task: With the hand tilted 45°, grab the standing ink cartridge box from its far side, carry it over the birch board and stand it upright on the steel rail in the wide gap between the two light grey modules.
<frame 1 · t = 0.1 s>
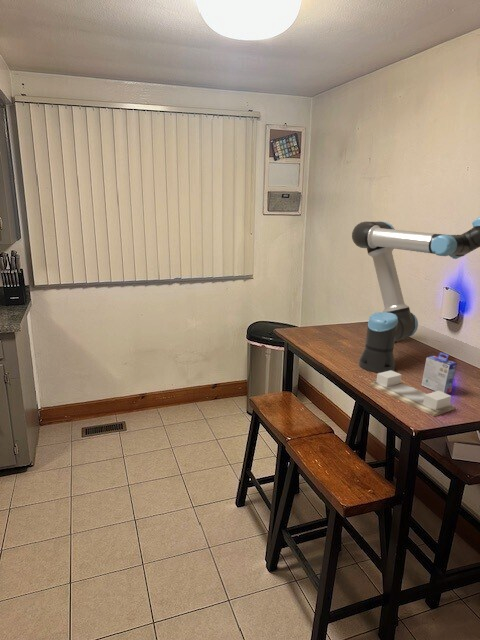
mounted modules: (411, 388, 162), on the rail board, point 3 cm above the table
ink cartridge box: (436, 389, 171), on the table
travel mug: (389, 341, 228), on the table
rail board: (410, 396, 163), on the table
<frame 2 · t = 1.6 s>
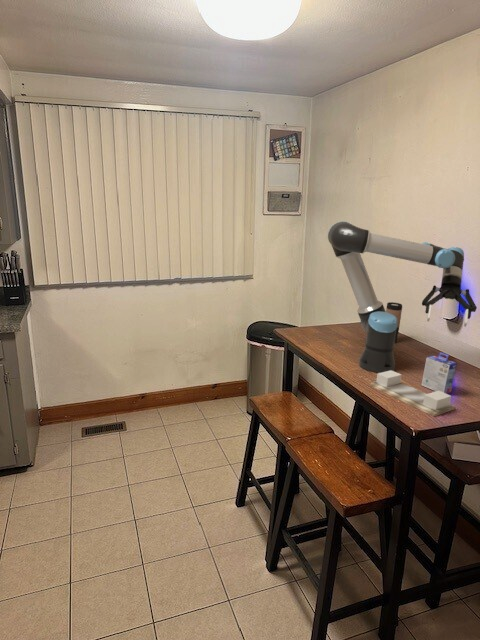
hand: (446, 322, 176), 24 cm above the table, tool tilted 45°, fingers open, 13 cm apart
nothing on the table moved.
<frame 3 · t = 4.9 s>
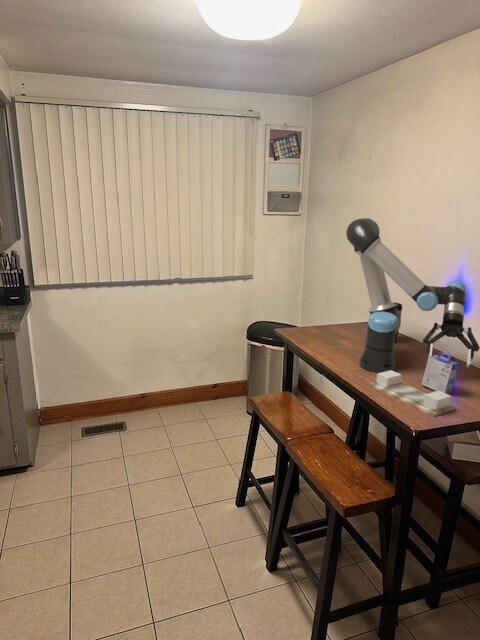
hand: (448, 362, 171), 10 cm above the table, tool tilted 45°, fingers open, 13 cm apart
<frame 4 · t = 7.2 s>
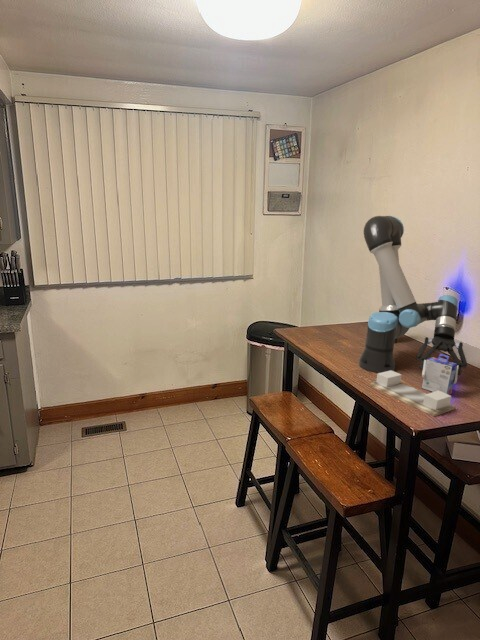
hand: (438, 379, 167), 5 cm above the table, tool tilted 45°, fingers closed on ink cartridge box, 11 cm apart
ink cartridge box: (436, 391, 169), on the table, touching gripper
everything else where it was.
when the fingers open (8 cm above the table, at t = 13.9 s): ink cartridge box drops 1 cm, resting on rail board.
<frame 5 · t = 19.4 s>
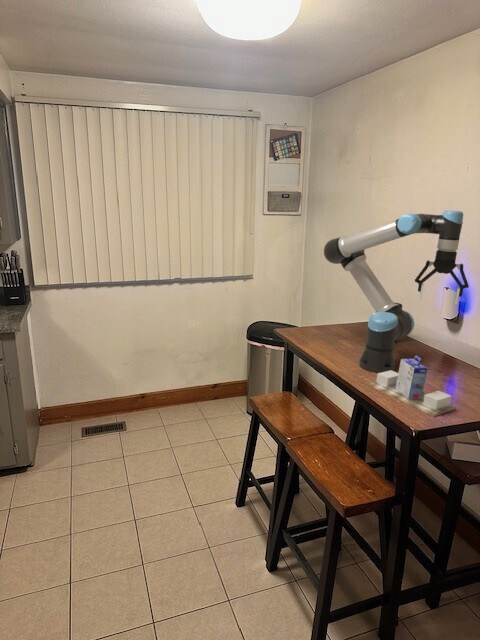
hand: (437, 301, 181), 31 cm above the table, tool pointing down, fingers open, 13 cm apart
ink cartridge box: (408, 394, 161), point 1 cm above the table, touching rail board
everything else where it was.
at the end: ink cartridge box inside the target area on the rail board (1.7 cm from its centre), point 1.4 cm above the rail board's base; ink cartridge box tilted 0°; the gripper is holding nothing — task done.
